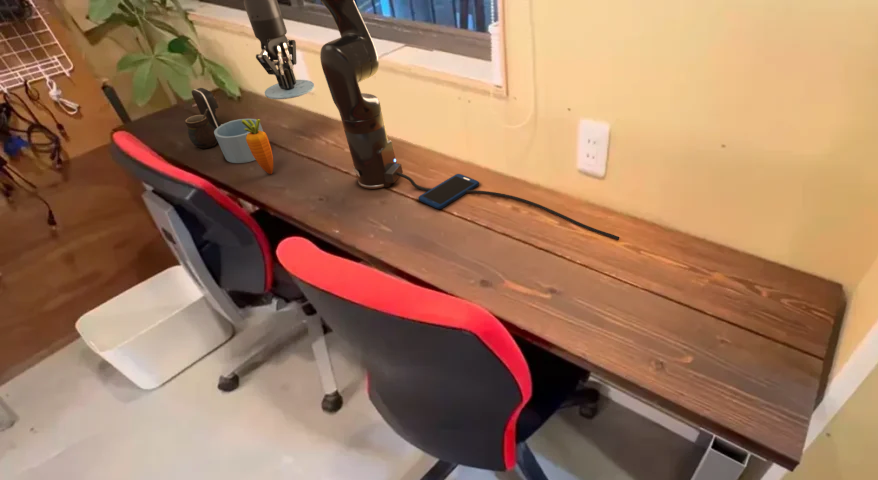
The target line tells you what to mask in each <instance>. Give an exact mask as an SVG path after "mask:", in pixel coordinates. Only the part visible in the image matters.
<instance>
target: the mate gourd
mask: <svg viewBox="0 0 878 480" xmlns="http://www.w3.org/2000/svg"><path fill="white" fill-rule="evenodd" d="M207 111H208V108H207V109H206V111H205V114H204V115H201V114H195V115H191V116H189V117H187V118H186V119H185V120H184V123H185V125H186V126H187V130H188V131H187V133H188V134H187V135H188V138H189V140H190V142H191V143H192V144H193V145H194V146H195V147H196V148H198V149H203V150H204V149H209V148H213V147H215V146H216V145H217V143H218V141H217V139H216V137H215V134H214V131H215V128H214V127H213V126H212V125H211V124H210V123H209V122H208V119H207V117H206V113H207Z"/></svg>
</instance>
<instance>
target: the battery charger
mask: <svg viewBox="0 0 878 480" xmlns="http://www.w3.org/2000/svg"><path fill="white" fill-rule="evenodd" d="M191 95H192V98H193V100H194V102H195V105H196V106H197V108H198V109H197V110H198V111H199V113H200V115H204V114H205V111H206V109H207V108H208V111H207V113H206V117H207V119H208V122H209V123H210V124H211V125H212V126H213V127H214V128H215V130H216V128H217V127H219V126H221V125H222V124H223V123H221V122H220V121H219V119H218V117H217V115H216V112H217V110H216V109H218V108H219V104H218V102H217V100H216V97H215V96H214V94H213V92H211V90H208V89H206V88H204V87H199V88H194V89H193V90H191Z"/></svg>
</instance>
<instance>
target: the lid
mask: <svg viewBox="0 0 878 480" xmlns="http://www.w3.org/2000/svg"><path fill="white" fill-rule="evenodd" d="M277 70H279V69H278V68H277ZM283 70H284V74H285V76H286V79H287V82H288V85H289V88H288V89H281V88H280V87H279V84H278V83H275V84H272V85H270V86H269V87H267V88H266V89H265V90H264V96H265V98H268V99H270V100H289V99H294V98H300V97H302V96H304V95H307V94H308V93H310V92H312V91H314V88H315V83H314V82H313V81H311V80H308V79H296V84H295V85H293V81H292V78H291V75H290V72H289V69H288V68H287V67H283Z"/></svg>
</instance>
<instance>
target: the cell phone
mask: <svg viewBox="0 0 878 480" xmlns="http://www.w3.org/2000/svg"><path fill="white" fill-rule="evenodd" d="M479 185H480V182H479V180H476V179H474V178H471V177H469V176H467V175H464V174H461V173H456V174H454V175H453V176H450V177H449V178H447V179H445V180H444V181H442V182H440V183H439V184H437V185H436V186H434V187H433V188H430V189H431V190H429V191H424V193H422V194H421V195H419V196H418V200H419V202H422V203H424V204H425V205H428V206H430V207H432V208H434V209H436V210H437V209H438V210H442V209H444V208H445V207H447V206H449V205H450V204H451V203H453V202H455V201H456V200H458V199H459V198H461V197H462V196H464V195H465V194H467V193H466V190H475V188H477V187H478V186H479Z"/></svg>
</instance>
